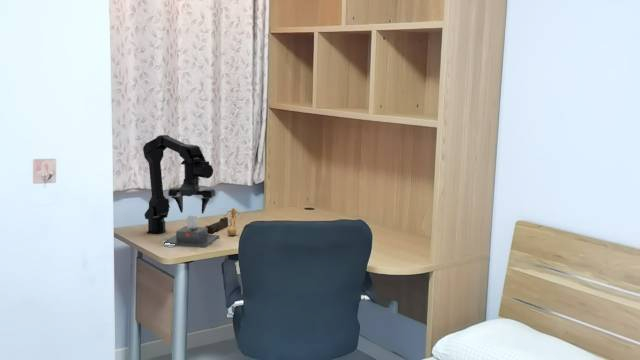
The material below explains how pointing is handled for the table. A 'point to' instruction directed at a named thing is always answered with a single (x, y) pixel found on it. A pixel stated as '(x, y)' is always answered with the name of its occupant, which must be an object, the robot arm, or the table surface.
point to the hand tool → (217, 225)
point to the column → (192, 223)
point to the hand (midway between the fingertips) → (192, 212)
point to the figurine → (231, 230)
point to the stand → (192, 237)
